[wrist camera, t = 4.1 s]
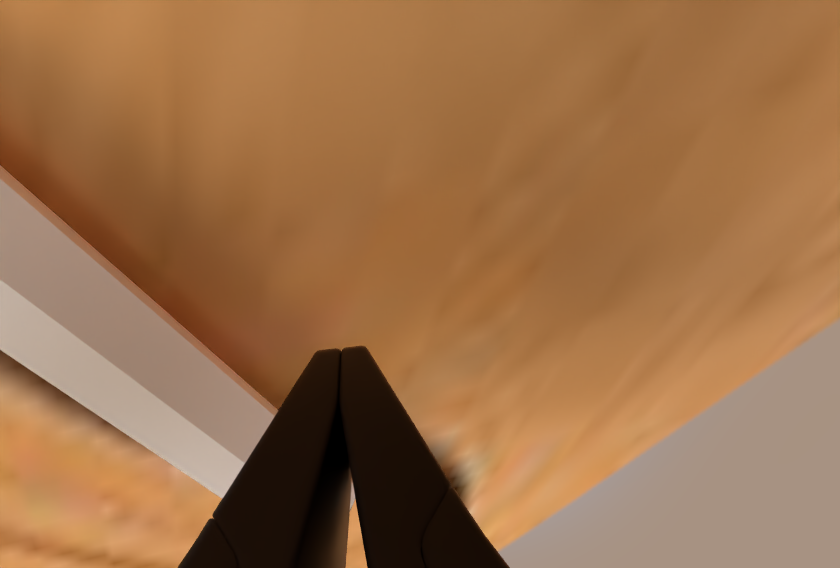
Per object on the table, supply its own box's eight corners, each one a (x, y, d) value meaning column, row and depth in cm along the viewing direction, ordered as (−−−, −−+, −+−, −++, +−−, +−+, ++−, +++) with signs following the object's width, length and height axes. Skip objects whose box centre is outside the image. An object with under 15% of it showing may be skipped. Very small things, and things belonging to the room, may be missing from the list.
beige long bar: (-341, -147, 7) (332, 454, 16) (-514, -65, 7) (278, 509, 16) (-506, -249, 5) (372, 507, 14) (-776, -143, 5) (312, 573, 13)
